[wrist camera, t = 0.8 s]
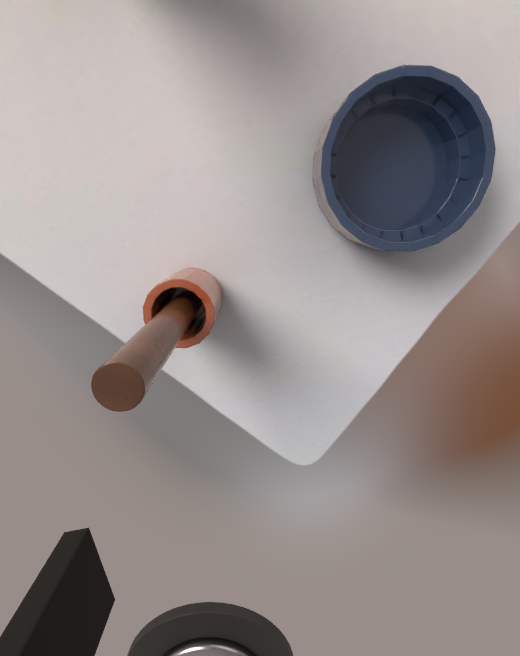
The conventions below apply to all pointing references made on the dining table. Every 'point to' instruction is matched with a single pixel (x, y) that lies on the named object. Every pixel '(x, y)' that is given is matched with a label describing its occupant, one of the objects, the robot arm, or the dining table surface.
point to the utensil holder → (201, 286)
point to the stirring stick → (145, 354)
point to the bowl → (404, 159)
